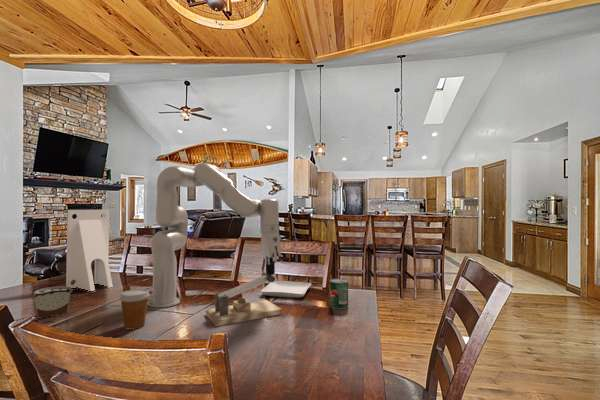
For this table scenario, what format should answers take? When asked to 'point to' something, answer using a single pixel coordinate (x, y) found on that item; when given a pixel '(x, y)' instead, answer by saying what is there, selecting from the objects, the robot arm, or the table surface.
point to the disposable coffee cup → (134, 307)
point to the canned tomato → (339, 293)
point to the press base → (244, 316)
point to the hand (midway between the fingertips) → (270, 273)
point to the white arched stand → (88, 249)
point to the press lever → (248, 285)
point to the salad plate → (286, 289)
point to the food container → (52, 300)
